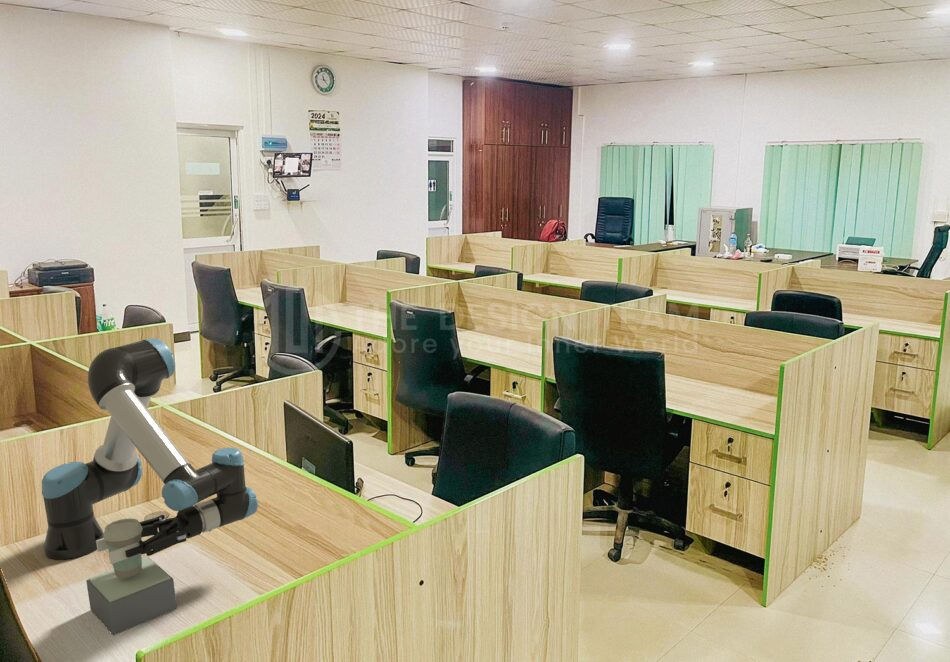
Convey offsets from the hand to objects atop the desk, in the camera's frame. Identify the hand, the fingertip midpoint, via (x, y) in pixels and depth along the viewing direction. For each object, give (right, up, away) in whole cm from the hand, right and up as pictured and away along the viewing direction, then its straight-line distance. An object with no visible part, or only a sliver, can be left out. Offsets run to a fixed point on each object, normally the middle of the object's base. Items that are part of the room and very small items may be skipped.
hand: (103, 552), depth 181 cm
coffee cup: (+4, -6, +5) cm, 9 cm away
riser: (+4, -16, +7) cm, 18 cm away
